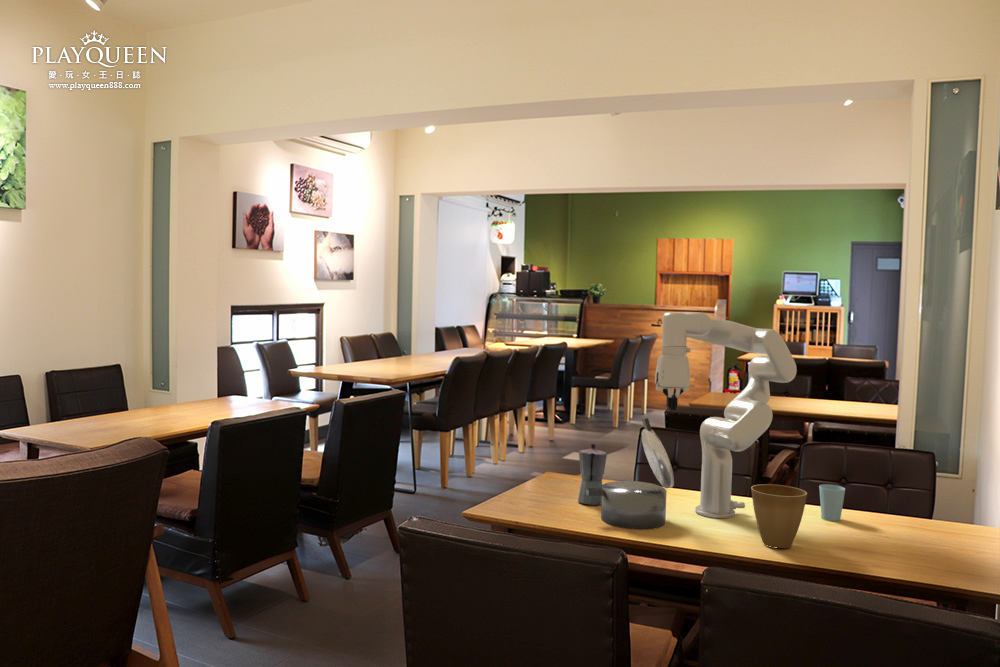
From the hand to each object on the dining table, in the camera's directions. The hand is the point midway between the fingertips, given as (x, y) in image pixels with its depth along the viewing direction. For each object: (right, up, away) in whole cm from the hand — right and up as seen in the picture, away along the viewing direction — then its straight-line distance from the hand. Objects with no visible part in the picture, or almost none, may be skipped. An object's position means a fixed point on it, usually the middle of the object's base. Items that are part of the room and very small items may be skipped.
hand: (671, 409), depth 229 cm
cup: (+53, -37, +7) cm, 65 cm away
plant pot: (+25, -37, -21) cm, 49 cm away
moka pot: (-23, -34, +18) cm, 45 cm away
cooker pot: (-15, -35, -1) cm, 38 cm away
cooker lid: (-6, -14, 0) cm, 15 cm away
